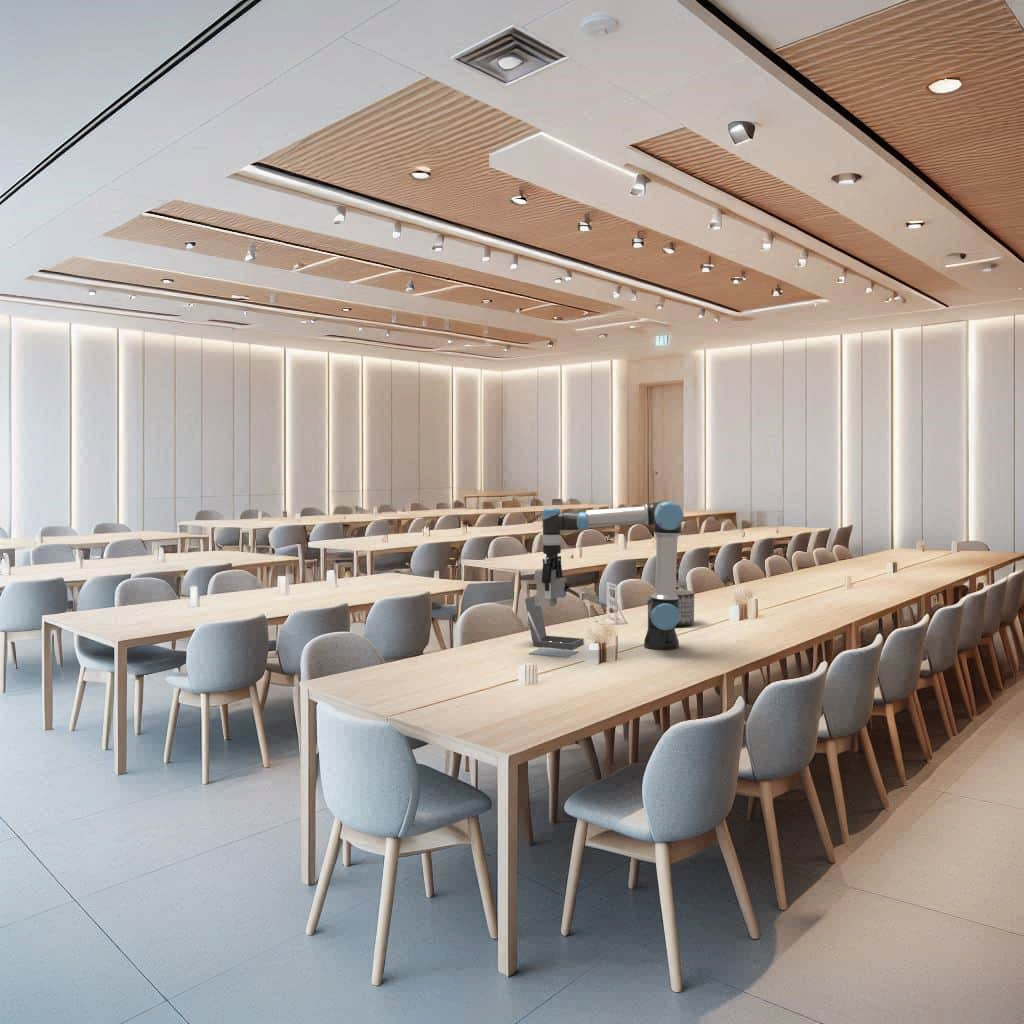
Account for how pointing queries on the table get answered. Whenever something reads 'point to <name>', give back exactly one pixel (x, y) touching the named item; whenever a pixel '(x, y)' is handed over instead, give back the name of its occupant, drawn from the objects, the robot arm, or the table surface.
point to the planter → (685, 607)
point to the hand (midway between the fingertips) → (552, 596)
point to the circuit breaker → (557, 589)
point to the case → (540, 632)
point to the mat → (553, 652)
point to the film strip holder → (609, 605)
